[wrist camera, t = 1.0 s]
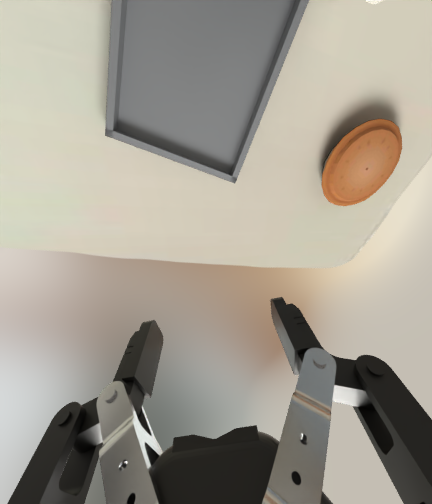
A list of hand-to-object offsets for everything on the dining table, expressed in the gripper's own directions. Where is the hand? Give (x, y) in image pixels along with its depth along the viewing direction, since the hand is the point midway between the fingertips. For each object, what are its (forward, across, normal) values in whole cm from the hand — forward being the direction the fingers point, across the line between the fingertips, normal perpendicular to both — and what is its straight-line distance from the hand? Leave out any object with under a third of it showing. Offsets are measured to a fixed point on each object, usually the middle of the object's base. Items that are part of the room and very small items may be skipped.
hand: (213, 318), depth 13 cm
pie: (+33, -31, -2) cm, 45 cm away
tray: (+28, -3, -21) cm, 35 cm away
